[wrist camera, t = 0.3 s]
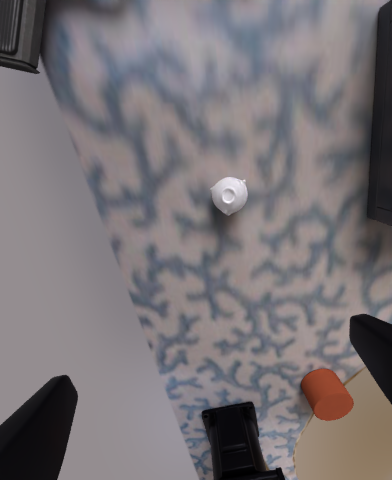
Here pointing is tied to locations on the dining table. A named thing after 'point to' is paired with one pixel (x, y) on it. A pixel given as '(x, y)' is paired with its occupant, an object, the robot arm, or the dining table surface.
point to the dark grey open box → (382, 125)
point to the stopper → (326, 395)
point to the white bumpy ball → (229, 195)
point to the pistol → (21, 33)
